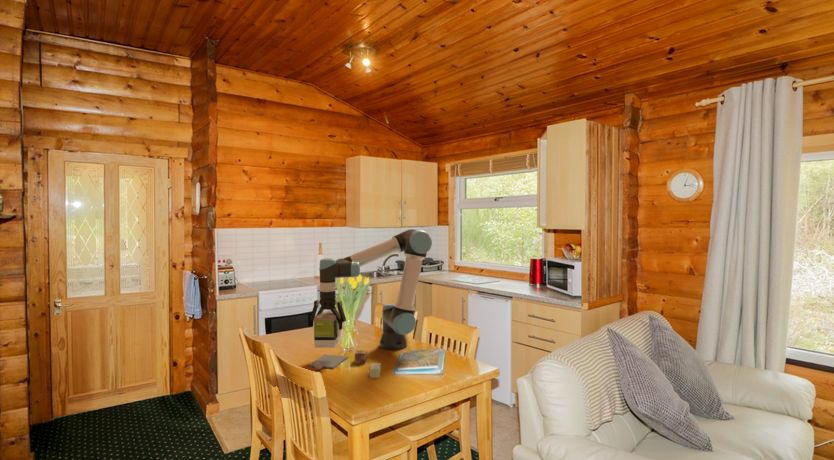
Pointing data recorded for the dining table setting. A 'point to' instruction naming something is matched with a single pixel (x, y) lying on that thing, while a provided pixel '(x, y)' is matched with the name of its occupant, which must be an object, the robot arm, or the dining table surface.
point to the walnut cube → (360, 357)
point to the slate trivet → (330, 361)
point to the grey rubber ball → (318, 365)
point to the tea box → (325, 330)
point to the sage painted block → (375, 370)
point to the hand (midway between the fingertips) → (328, 335)
